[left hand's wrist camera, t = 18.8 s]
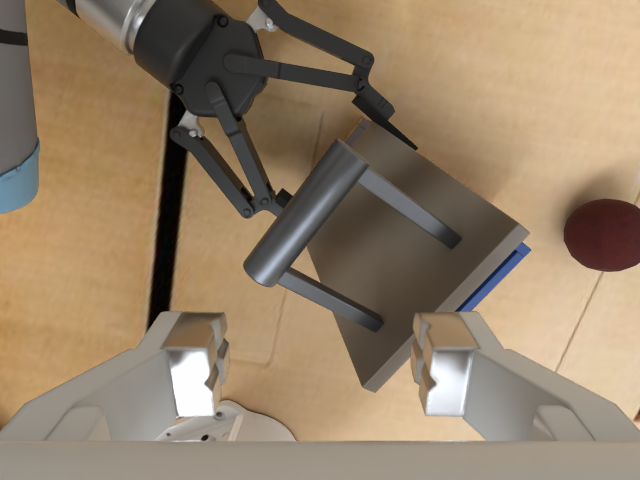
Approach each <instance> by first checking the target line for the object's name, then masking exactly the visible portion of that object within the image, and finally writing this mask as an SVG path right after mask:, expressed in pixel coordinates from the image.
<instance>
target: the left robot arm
mask: <svg viewBox="0 0 640 480" xmlns="http://www.w3.org/2000/svg"><path fill="white" fill-rule="evenodd" d="M226 330H227V321H226V315H225V313H224V312H183V311H165V312H161V313H160V314H159V316H158V317H157V319H156V320H155V322H154V323H153V324H152V326H151V327H150V329H149V330H148V332H147V333H146V335H145V336H144V337H143V339H142V340H141V342H140V343H139V345H138V346H137V348H136V349H128V350H126V351H125V352H123V353H121V354H119V355H117V356H115V357H113V358H111V359H109V360H107V361H105V362H104V363H102V364H100V365H98V366H96V367H94V368H92V369H90V370H88V371H86V372H84V373H82V374H81V375H79V376H77V377H75V378H73V379H71V380H69V381H67V382H65V383H63V384H61V385H60V386H58V387H56V388H54V389H52V390H50V391H48V392H46V393H44V394H42V395H40V396H38V397H37V398H35V399H33V400H31V401H29V402H27V403H25V404H24V405H23V406H22V407H21V408H20V409H19V411H18V412H17V413H16V414H15V415H14V416H13V417H12V418H11V419H10V420H9V421H8V423H7V424H6V425H5V426H4V427H3V428H2V429H1V430H0V480H640V430H639V429H638V428H637V427H636V426H635V425H634V424H633V422H632V421H631V420H630V419H629V418H628V417H627V416H626V415H625V414H624V412H623V411H622V410H621V409H620V408H619V407H618V406H617V405H616V404H615V403H613V402H611V401H609V400H607V399H605V398H603V397H601V396H599V395H597V394H595V393H594V392H592V391H590V390H588V389H586V388H584V387H582V386H580V385H578V384H576V383H575V382H573V381H571V380H569V379H567V378H565V377H563V376H561V375H559V374H557V373H555V372H554V371H552V370H550V369H548V368H546V367H544V366H542V365H540V364H538V363H536V362H534V361H533V360H531V359H529V358H527V357H525V356H523V355H521V354H519V353H517V352H515V351H514V350H512V349H504V348H503V346H502V345H501V343H500V342H499V341H498V339H497V338H496V336H495V335H494V333H493V332H492V330H491V329H490V328H489V326H488V325H487V323H486V322H485V320H484V319H483V318H482V316H481V315H480V313H479V312H477V311H464V312H425V313H415V315H414V320H413V330H414V333H415V336H416V338H415V340H414V341H413V342H412V343H411V353H410V357H411V369H412V375H413V378H414V381H415V382H416V383H417V384H418V385H420V386H419V397H420V401H421V404H422V407H423V410H424V413H425V416H448V417H463V419H464V420H465V421H466V422H467V423H468V424H469V425H470V426H471V427H472V428H473V429H475V430H476V431H477V432H478V433H479V434H480V435H481V436H482V437H483V438H484V439H485V440H486V441H296V440H295V438H294V436H293V435H292V433H291V432H290V431H289V430H288V429H287V428H286V427H285V426H284V425H282V424H281V423H280V422H278V421H276V420H274V419H272V418H270V417H268V416H265V415H262V414H258V413H254V412H251V411H248V410H246V409H245V408H243V407H242V406H240V405H239V404H237V403H235V402H233V401H230V400H224V401H221V402H219V401H220V397H221V386H220V385H222V384H223V383H224V382H225V381H226V378H227V375H228V369H229V358H230V351H229V343H228V342H227V341H226V340H225V338H224V336H225V333H226ZM219 412H221V413H219ZM178 417H182V418H180V419H177V418H178ZM176 419H177V420H176Z"/></svg>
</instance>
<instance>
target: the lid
mask: <svg viewBox="0 0 640 480" xmlns="http://www.w3.org/2000/svg"><path fill="white" fill-rule="evenodd" d="M529 234H530V232H529V231H528V230H526V229H525V228H524V227H523V226H522V225H521V224H519V223H518V222H517V221H515V220H514V219H512V218H511V217H509V216H508V215H507V214H505V213H504V212H502V211H501V210H499V209H498V208H497V207H495V206H494V205H492V204H491V203H489V202H488V201H487V200H485V199H484V198H482V197H481V196H479V195H478V194H477V193H475V192H474V191H472V190H471V189H469V188H468V187H467V186H465V185H464V184H462V183H461V182H459V181H458V180H457V179H455V178H454V177H452V176H451V175H449V174H448V173H447V172H445V171H444V170H442V169H441V168H439V167H438V166H437V165H435V164H434V163H432V162H431V161H429V160H428V159H427V158H425V157H424V156H422V155H421V154H419V153H418V152H417V151H415V150H414V149H412V148H411V147H409V146H408V145H407V144H405V143H404V142H402V141H401V140H399V139H398V138H397V137H395V136H394V135H392V134H391V133H389V132H388V131H387V130H385V129H384V128H382V127H381V126H379V125H378V124H376V123H375V122H374V121H371V123H370V124H369V125H368V127H367V128H366V129H365V131H364V132H363V133H362V134H361V136H360V137H359V138H358V140H357V141H356V142H355V144H354V145H353V146H352V147H350V146H349V145H347V144H346V143H345V142H343V141H342V140H340V139H336V140H335V141H334V143H333V144H332V145H331V147H330V148H329V149H328V151H327V152H326V153H325V155H324V156H323V157H322V159H321V160H320V161H319V163H318V164H317V165H316V167H315V168H314V169H313V171H312V172H311V173H310V175H309V176H308V177H307V179H306V180H305V181H304V183H303V184H302V185H301V187H300V188H299V189H298V191H297V192H296V193H295V195H294V196H293V197H292V199H291V200H290V201H289V203H288V204H287V205H286V207H285V208H284V209H283V210H282V212H281V213H280V214H279V216H278V217H277V218H276V220H275V221H274V222H273V224H272V225H271V226H270V228H269V229H268V230H267V232H266V233H265V234H264V236H263V237H262V238H261V240H260V241H259V242H258V244H257V245H256V246H255V248H254V249H253V250H252V252H251V253H250V254H249V256H248V257H247V258H246V260H245V261H244V264H243V267H244V270H245V271H246V273H247V274H248V275H249V276H250V277H251V278H252V279H253V280H254V281H256V282H257V283H259V284H261V285H263V286H266V287H273V286H275V285H276V283H277V284H279V285H281V286H283V287H285V288H287V289H289V290H291V291H293V292H295V293H297V294H299V295H301V296H303V297H305V298H307V299H309V300H311V301H313V302H315V303H317V304H319V305H321V306H323V307H325V308H327V309H329V310H331V311H332V312H333V314H334V317H335V320H336V322H337V325H338V327H339V330H340V332H341V335H342V337H343V340H344V342H345V345H346V347H347V350H348V352H349V355H350V358H351V360H352V363H353V365H354V368H355V370H356V373H357V375H358V378H359V380H360V383H361V385H362V387H363V388H365V389H367V390H370V391H372V392H374V393H376V392H377V391H378V390H379V389H380V388H381V387H382V386H383V384H384V383H385V382H386V381H387V380H388V379H389V378H390V377H391V376H392V375H393V374H394V373H395V372H396V371H397V370H398V369H399V368H400V367H401V366H402V365H403V364H404V363H405V362H406V361H407V360H408V359H409V358H410V353H411V343H412V342H413V341H414V340H415V338H416V336H415V333H414V330H413V320H414V315H415V313H425V312H454V311H455V310H456V309H457V308H458V307H459V306H460V305H461V304H462V303H463V302H464V301H465V300H466V299H467V298H468V297H469V296H470V295H471V294H472V293H473V292H474V291H475V290H476V289H477V288H478V287H479V286H480V285H481V284H482V283H483V282H484V281H485V280H486V278H487V277H488V276H489V275H490V274H491V273H492V272H493V271H494V270H495V269H496V268H497V267H498V266H499V265H500V264H501V263H502V262H503V261H504V260H505V259H506V258H507V257H508V256H509V255H510V254H511V253H512V252H513V251H514V250H515V249H516V248H517V247H518V246H519V245H520V244H521V242H522V241H523V240H524V239H525V238H526V237H527V236H528V235H529ZM306 246H307V249H308V251H309V254H310V256H311V259H312V261H313V264H314V266H315V269H316V271H317V274H318V277H319V279H320V282H321V283H319V282H318V281H316V280H314V279H312V278H310V277H308V276H306V275H304V274H303V273H301V272H299V271H297V270H295V269H293V268H291V267H290V266H291V265H292V263H293V262H294V261H295V259H296V258H297V257H298V256H299V254H300V253H301V252H302V251H303V249H304V248H305V247H306Z"/></svg>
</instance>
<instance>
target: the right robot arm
mask: <svg viewBox="0 0 640 480" xmlns="http://www.w3.org/2000/svg"><path fill="white" fill-rule="evenodd" d="M57 1H58V2H59V3H61V4H62V5H63V6H65V7H66V8H67V9H69V10H70V11H71V12H72V13H74V14H75V15H76V16H77V17H79V18H80V19H81V20H82V21H84V22H85V23H86V24H87V25H88V26H90V27H91V28H92V29H93V30H95V31H96V32H97V33H98V34H100V35H101V36H102V37H103V38H105V39H106V40H107V41H108V42H110V43H111V44H112V45H113V46H115V47H116V48H117V49H118V50H120V51H121V52H122V53H123V54H125V55H128V56H129V55H134V58H135V61H136V63H137V64H138V65H139V66H140V67H142V68H143V69H144V70H145V71H147V72H148V73H149V74H151V75H152V76H153V77H154V78H156V79H157V80H158V81H160V82H161V83H162V84H163V85H165V86H166V87H167V88H168V89H170V90H171V91H172V92H174V93H175V94H176V95H177V96H178V97H179V98H180V99H181V100H182V102H183V103H184V106H185V108H186V109H187V110H186V112H185V114H184V116H183V117H182V119H181V121H180V123H179V124H178V126H177V127H175V128H172V129H171V130H170V137H171V139H172V140H173V141H175V142H176V143H178V144H179V145H181V146H182V147H184V148H185V149H187V150H188V151H190V152H191V153H192V154H193V155H194V157H195V158H196V159H197V160H198V162H199V163H200V164H201V165H202V167H203V168H204V169H205V170H206V172H207V173H208V174H209V175H210V177H211V178H212V179H213V180H214V182H215V183H216V184H217V185H218V187H219V188H220V189H221V190H222V192H223V193H224V194H225V195H226V197H227V198H228V199H229V200H230V202H231V203H232V204H233V205H234V207H235V208H236V209H237V211H238V212H239V213H240V214H241V216H243V217H244V218H246V219H247V218H251V217H252V216H253V215H254V214H256V213H258V212H259V211H261V210H268V211H270V212H271V213H273V214H274V215H275V216H277V217H278V216H279V214H280V213H281V212H282V210H283V209H284V208H285V207H286V205H287V204H288V203H289V201H290V200H291V199H292V197H293V196H292V195H291V194H289V193H288V192H287V191H286V190H284V189H283V188H282V189H281V190H280V192H279V193H278V194H277V195H276V194H275V190H274V191H273V189H272V186H271V184H270V182H269V179H268V177H267V175H266V173H265V170H264V168H263V166H262V163H261V161H260V159H259V156H258V154H257V152H256V150H255V147H254V145H253V143H252V140H251V138H250V136H249V134H248V131H247V128H246V124H245V122H244V119H243V117H242V115H244V114H246V113H247V112H248V110H249V109H250V107H251V106H252V103H253V101H254V98H255V97H256V96H257V95H258V94H259V93H261V92H262V91H263V89H264V88H265V87H266V85H267V81H268V77H271V78H276V79H283V80H288V81H294V82H300V83H305V84H311V85H317V86H322V87H328V88H334V89H339V90H345V91H351V92H354V93H355V94H356V95H357V96H356V97H355V98H354V99H353V101H352V103H353V104H354V105H355V106H357V107H358V108H359V109H360V110H361V111H362V112H363V113H365V114H366V115H367V116H368V117H369V118H370V119H371V120H373V121H374V122H375V123H376V124H378V125H379V126H381V127H382V128H384V129H385V130H387V131H388V132H389V133H391V134H392V135H394V136H395V137H397V138H398V139H399V140H401V141H402V142H404V143H405V144H407V145H408V146H409V147H411V148H412V149H414V150H415V151H416V150H417V149H418V147H417V146H416V145H415V144H413V143H412V142H411V141H410V140H409V139H408V138H407V137H405V136H404V135H403V134H402V133H401V132H400V131H399V130H398V129H396V128H395V127H394V126H393V125H392V124H391V123H390V122H389V121H388V119H389V118H390V117H391V116H392V115H393V113H394V112H395V110H394V108H393V106H392V105H391V104H390V103H389V102H388V101H387V100H386V99H385V98H383V97H382V96H381V95H380V94H379V93H378V92H377V91H376V90H375V89H373V88H372V87H371V86H370V84H369V82H368V76H369V73H370V70H371V67H372V65H373V63H374V56H373V55H372V54H371V53H370V52H368V51H366V50H364V49H362V48H360V47H358V46H355V45H353V44H351V43H349V42H347V41H345V40H343V39H341V38H339V37H337V36H334V35H332V34H330V33H328V32H326V31H324V30H322V29H320V28H318V27H316V26H313V25H311V24H309V23H307V22H305V21H303V20H301V19H299V18H297V17H295V16H292V15H290V14H288V13H287V12H286V11H285V10H284V9H283V8H282V7H281V6H280V5H279V4H278V3H277V2H276V1H275V0H258V6H257V8H256V9H255V10H254V12H253V13H252V14H251V16H250V17H249V18H248V19H247V21H246V22H243V21H238V20H235V19H233V18H232V17H230V16H229V15H228V14H227V13H226V12H224V11H223V10H222V9H221V8H220V7H219V6H217V5H216V4H215V3H214V2H213V1H212V0H57ZM279 28H280V29H281V30H282V31H284V32H285V33H287V34H289V35H290V36H293V37H295V38H297V39H299V40H301V41H303V42H305V43H307V44H310V45H312V46H314V47H316V48H318V49H320V50H322V51H325V52H327V53H329V54H331V55H333V56H335V57H337V58H339V59H342V60H344V61H346V62H348V63H350V64H352V65H354V66H355V67H354V70H353V73H352V75H347V74H342V73H336V72H330V71H325V70H319V69H313V68H308V67H302V66H297V65H291V64H285V63H280V62H275V61H269V60H264V57H263V53H262V50H261V46H260V43H259V39H258V36H257V32H258V31H259V30H266V31H268V32H270V33H274V32H276V31H277V30H278V29H279ZM199 117H215V118H218V119H219V121H220V123H221V126H222V128H223V130H224V132H225V134H226V135H227V137H228V138H229V140H230V142H231V144H232V146H233V148H234V151H235V153H236V155H237V157H238V159H239V162H240V164H241V166H242V168H243V170H244V173H245V175H246V177H247V179H248V181H249V184H250V186H251V188H252V190H253V192H254V195H255V196H254V197H253V196H252V195H251V194H250V192H249V191H248V190H247V188H246V187H245V186H244V185H243V183H242V182H241V181H240V179H239V178H238V177H237V176H236V174H235V173H234V172H233V170H232V169H231V168H230V167H229V165H228V164H227V163H226V161H225V160H224V159H223V157H222V156H221V155H220V154H219V152H218V151H217V150H216V148H215V147H214V146H213V145H212V143H211V142H210V141H209V140H208V139H207V138H206V137H205V136H204V132H205V131H204V128H203V127H202V126H201V125H200V123H199ZM39 151H40V143H39V138H38V136H37V127H36V117H35V108H34V98H33V88H32V79H31V69H30V59H29V49H28V37H27V26H26V14H25V2H24V0H0V214H3V213H7V212H11V211H14V210H17V209H19V208H21V207H23V206H25V205H27V204H28V203H29V202H31V201H32V200H33V199H34V198H35V196H36V194H37V192H38V186H39V179H38V154H39Z"/></svg>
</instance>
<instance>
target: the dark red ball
mask: <svg viewBox="0 0 640 480" xmlns="http://www.w3.org/2000/svg"><path fill="white" fill-rule="evenodd" d="M564 242H565V244H566V246H567V248H568V250H569V252H570V254H571V256H572V257H573V258H575V259H576V260H577V261H578V262H579V263H581V264H582V265H584V266H585V267H587V268H591V269H595V270H599V271H606V272H613V271H621V270H624V269H627V268H630V267H633V266H635V265H637V264H638V263H640V209H639V208H638V207H637V206H635V205H633V204H630V203H628V202H624V201H621V200H613V199H601V200H595V201H591V202H589V203H586V204H584V205H583V206H581V207H580V208H578V209H577V210H576V211H575V212H574V213H573V214H572V215H571V216H570V218H569V219H568V220H567V222H566V225H565V228H564Z"/></svg>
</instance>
